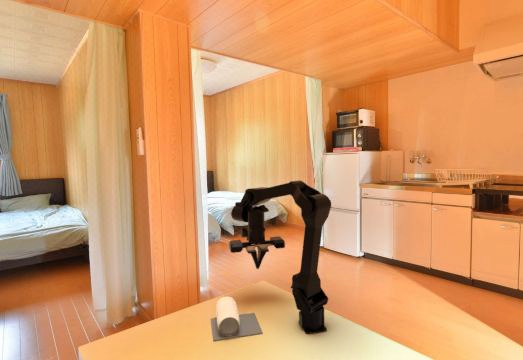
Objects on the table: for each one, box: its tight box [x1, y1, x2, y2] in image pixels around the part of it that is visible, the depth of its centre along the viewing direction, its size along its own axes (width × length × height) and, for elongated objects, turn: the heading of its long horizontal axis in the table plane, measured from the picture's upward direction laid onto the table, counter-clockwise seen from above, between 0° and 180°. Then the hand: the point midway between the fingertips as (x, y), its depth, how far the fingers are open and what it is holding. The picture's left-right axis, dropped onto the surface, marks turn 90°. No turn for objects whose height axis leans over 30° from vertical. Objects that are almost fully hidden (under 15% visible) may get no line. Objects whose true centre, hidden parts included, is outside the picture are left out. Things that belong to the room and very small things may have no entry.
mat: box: [210, 312, 264, 342], centre depth 93 cm, size 14×12×1 cm
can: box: [215, 296, 240, 336], centre depth 93 cm, size 6×6×12 cm
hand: (257, 268), depth 107 cm, fingers closed
